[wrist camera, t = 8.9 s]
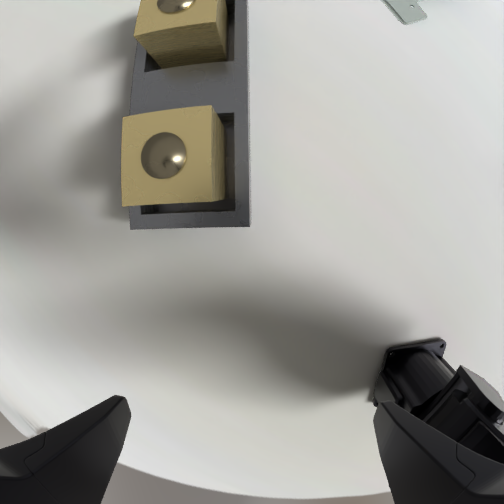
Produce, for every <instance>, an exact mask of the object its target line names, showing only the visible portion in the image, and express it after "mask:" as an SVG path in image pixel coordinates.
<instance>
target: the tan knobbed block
mask: <svg viewBox="0 0 504 504" xmlns="http://www.w3.org/2000/svg"><path fill="white" fill-rule="evenodd" d="M134 37H135V38H136V40H137V41H138V42H139V43H140V44H141V45H142V46H143V47H144V49H145V50H146V51H147V52H148V53H149V54H150V55H151V57H152V58H153V59H154V60H155V61H156V62H157V63H158V65H159V66H160V67H161V68H162V69H166V68H172V67H179V66H186V65H194V64H203V63H213V62H226V61H228V47H229V17H228V12H227V7H226V2H225V0H141V2H140V7H139V11H138V16H137V20H136V25H135V31H134Z"/></svg>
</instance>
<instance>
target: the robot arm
mask: <svg viewBox="0 0 504 504" xmlns="http://www.w3.org/2000/svg"><path fill="white" fill-rule="evenodd" d="M441 344H442V345H441ZM445 347H446V342H445V341H444V340H443V339H441V340H435V341H430V342H424V343H418V344H412V345H406V346H399V347H392V348H389V349H388V350H387V351H386V353H385V357H384V361H383V365H382V369H381V371H380V373H379V375H378V379H377V383H376V387H375V390H374V398H373V405H374V406H375V407H377V410H376V413H375V415H374V419H373V423H374V428H375V433H376V438H377V443H378V448H379V453H380V457H381V461H382V464H383V467H384V470H385V473H386V476H387V480H388V483H389V487H390V489H391V493H392V496H393V499H394V503H395V504H504V402H503V400H502V398H501V396H500V394H499V393H498V392H497V391H496V390H495V389H494V388H493V387H492V386H491V385H490V384H489V383H488V382H487V381H486V380H485V379H484V378H482V377H480V376H479V375H477V374H475V373H474V372H472V371H470V370H469V369H467V368H465V367H463V366H462V365H460V366H459V368H458V369H457V370H456V371H457V372H456V371H455V370H454V369H453V368H452V367H451V366H450V365H449V364H448V363H447V362H446V361H445V360H444V359H443V358H442V357H443V354H444V350H445ZM392 352H393V353H392ZM391 353H392V354H391ZM390 354H391V355H390ZM130 419H131V411H130V408H129V405H128V402H127V400H126V398H125V397H123V396H118V395H114V396H112V397H110V398H108V399H107V400H105V401H103V402H101V403H99V404H98V405H96V406H94V407H92V408H90V409H88V410H86V411H85V412H83V413H81V414H79V415H77V416H75V417H73V418H71V419H69V420H67V421H65V422H64V423H62V424H60V425H58V426H56V427H54V428H52V429H50V430H48V431H46V432H43V433H41V434H39V435H37V436H35V437H33V438H30V439H28V440H26V441H23V442H20V443H17V444H14V445H11V446H8V447H5V448H2V449H0V504H101V501H102V499H103V496H104V493H105V491H106V488H107V486H108V483H109V481H110V478H111V476H112V473H113V471H114V468H115V466H116V463H117V461H118V458H119V456H120V453H121V451H122V448H123V445H124V441H125V437H126V434H127V430H128V426H129V423H130Z"/></svg>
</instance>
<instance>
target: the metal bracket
mask: <svg viewBox="0 0 504 504" xmlns="http://www.w3.org/2000/svg"><path fill="white" fill-rule="evenodd" d="M381 1H382V2H383V3H384V4H385V5H386V6H387V8H388V9H389V10H390V11H391V12H392V13H393V15H394V16H395V17H396V18H397V19H398V21H400V22H401V23H403V24H404V25H408V24H411V23H414V22H418V21H421V20H424V19H426V18H427V15H426V13H425V12H424V11H423V10H422V9H421V7H420V6H419V5H418V4H417V2H418V1H422V0H381ZM411 6H413V7H414V8H412V7H411Z"/></svg>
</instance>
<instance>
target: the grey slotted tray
mask: <svg viewBox="0 0 504 504" xmlns="http://www.w3.org/2000/svg"><path fill="white" fill-rule="evenodd" d="M225 2H226V7H227V12H228V17H229V47H228V61H226V62H213V63H203V64H194V65H186V66H179V67H172V68H166V69H162V68H161V67H160V66H159V65H158V63H157V62H156V61H155V60H154V59H153V58H152V57H151V55H150V54H149V53H148V52H147V51H146V50H145V49H144V47H143V46H142V45H141V44H140V43H139V42H138V43H137V49H136V56H135V64H134V72H133V81H132V91H131V103H130V116H131V115H137V114H143V113H149V112H155V111H162V110H169V109H177V108H186V107H195V106H207V105H212V107H213V109H214V110H215V112H216V114H217V115H218V117H219V119H220V121H221V122H222V124H223V126H224V128H225V129H226V131H227V195H228V199H223V200H218V201H213V202H191V203H170V204H152V205H137V206H129V213H130V229H131V230H135V229H164V228H202V227H250V224H251V179H250V107H249V32H248V0H225Z"/></svg>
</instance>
